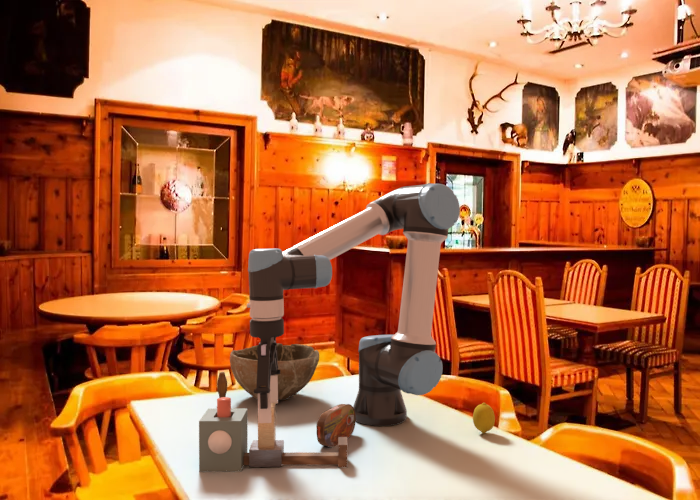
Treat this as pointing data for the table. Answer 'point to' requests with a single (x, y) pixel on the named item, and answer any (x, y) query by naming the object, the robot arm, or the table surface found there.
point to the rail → (315, 457)
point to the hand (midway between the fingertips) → (268, 412)
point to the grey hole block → (222, 441)
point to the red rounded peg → (224, 407)
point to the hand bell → (222, 385)
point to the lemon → (483, 418)
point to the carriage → (267, 445)
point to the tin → (335, 424)
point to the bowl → (292, 363)
